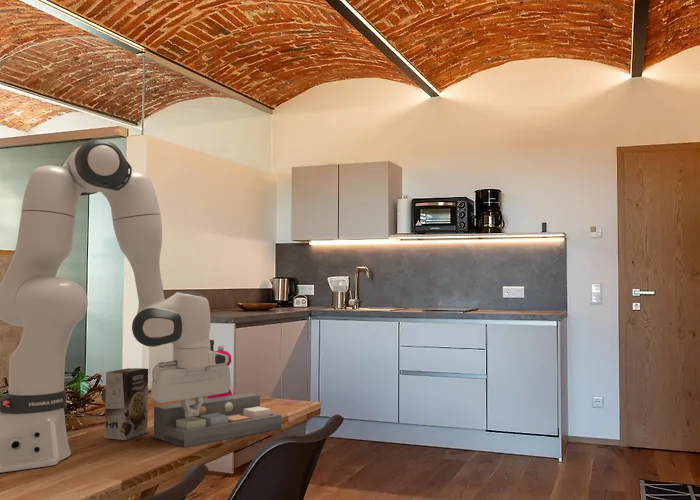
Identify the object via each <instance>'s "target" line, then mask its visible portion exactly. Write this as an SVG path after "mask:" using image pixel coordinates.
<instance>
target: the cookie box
mask: <svg viewBox="0 0 700 500" xmlns="http://www.w3.org/2000/svg"><path fill="white" fill-rule="evenodd" d="M105 373H106V374H105V388H106V399H105V404H104V405H105V406H104V408H105V410H104V438H105V439H110V440H111V439H112V440H119V441H120V440H121V441H127V440H130V439H132V438H136V437H138V436H141V434H142V435H144V433H145V434H147V433H148V419H149V418H148V412H149V407H148V406H149V405H148V404H149V403H148V399H149V398H148V397H149V393H148V391H149V368H144V367H143V368H141V367H138V368H137V367H134V368H130V367H129V368H123V369H121V368H120V369H117V370H116V369H115V370H111V371H106V372H105Z"/></svg>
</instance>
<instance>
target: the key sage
mask: <svg viewBox="0 0 700 500" xmlns="http://www.w3.org/2000/svg"><path fill="white" fill-rule="evenodd" d="M203 427H206V420H204V419H201V418H197V417H190V418H184V419H178V420H176V428H180V429H183V430H192V429H197V428H203Z"/></svg>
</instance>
